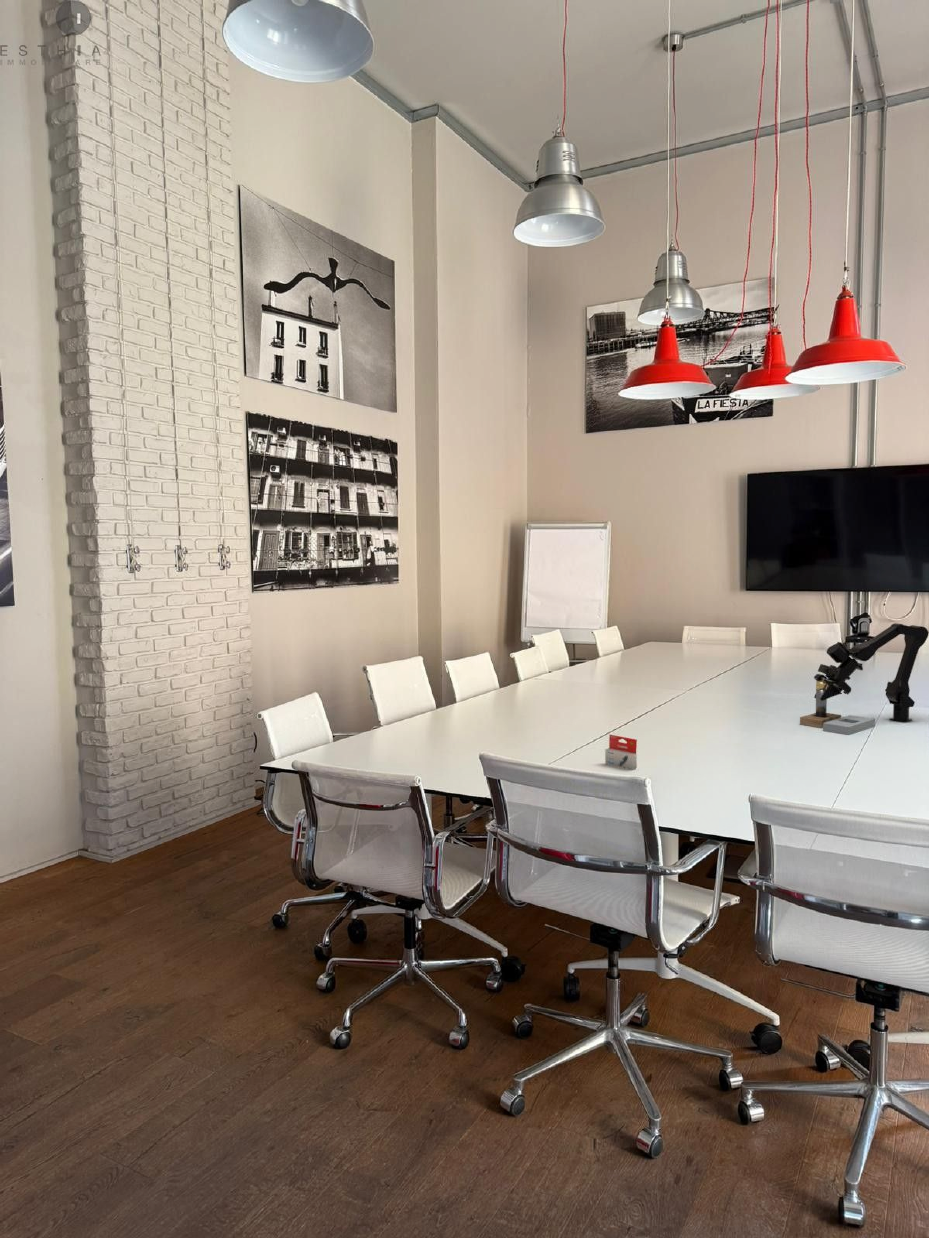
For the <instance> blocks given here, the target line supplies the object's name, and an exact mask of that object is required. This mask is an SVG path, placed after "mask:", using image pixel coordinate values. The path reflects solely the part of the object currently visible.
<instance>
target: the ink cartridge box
mask: <svg viewBox="0 0 929 1238" xmlns="http://www.w3.org/2000/svg"><path fill="white" fill-rule="evenodd" d="M608 737H609V738H608V741H609V742H608V748H605V750H604V752H605V753H604V756H605V758H604V760H605V761H604V762H605V763H606V764H605V765H608V764H609V765H608V766H612V765H614V766H613V767H616V768H617V767H618V768H621V767H625V768H624V769H626V768H628V769H627V770H630V769H631V771H634V770H637V769H636V768H637V767H638V763H637V761H638V760H637V758H638V757H637V755H638V754H637V749H638V748H637V747H638V746H637V744H638V742H637V741H638V739H636V738H629V737H625V736H619V735H615V734H609V735H608ZM620 740H624V741H625V742H621V741H620Z"/></svg>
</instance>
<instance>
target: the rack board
mask: <svg viewBox="0 0 929 1238" xmlns="http://www.w3.org/2000/svg"><path fill="white" fill-rule="evenodd" d="M875 726H876V719H875V718H870V717H865V716H858V715H851V714H850V715H846V716H841V718H839V719H835V720H832V721H828V722H825V723H823V728H822V731H823V732H829V733H835V734H841V735H847V736H850V735H853V734H856V733H858V732H862V731H865V730H868V729H872V728H874V727H875Z"/></svg>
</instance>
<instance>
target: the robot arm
mask: <svg viewBox="0 0 929 1238" xmlns="http://www.w3.org/2000/svg"><path fill="white" fill-rule="evenodd" d="M899 635H902V636H904V638H903V639H904V644H905V645H904V649H903V653H902V656H901V659H900V662H899V665H898V668H897V671H896V675H895V678H894V679H893V680H892V681H887V685H886V688H885V690H884V692H885V696H886V698H887V699H888V703H889V704H890V705H893V707H892V708H893V709H892V713H893V714H892V717H890V718H889V720H890V721H896V722H902V723H907V722H910V721H913V718H910V708H914V705H915V700H913V699H912V697H911V696H910V685H909V681H910V678H911V674H912V672H913V669H914V665H915V662H916V659H917V656H918V653H919V650H920V648H922V646H923V645H925V643H926V641H927V639H928V638H929V630H928V628H927V627H925V626H920V625H914V624H910V625H906V624H902V623H898V622H897V623H895V622H893V623H892V624H890V626H888V627H887V628H886V629H884V630H883V631H881V632H880V633H878V634H877V635H875V636H874V637H872V638H871V639H868V640H867V641H865V642H864V641H863V642H860V643H858V644H856V645H853V646H852V647H851V648H848V649H847V648H846V647H845V645H844V644H843V642H841V641H837V642H836V643H834V644H832V645H831V646H829V647H828V648H827V649H826V654H827V655H828V656H829V657H830V658H831V659H832V660H833V661H834V662H835V663H836V664H839V663H840V664H839V665H838V666H836V665H833V664H830V665H826V664H823V663H820V665H819V667H818V669H817V672H819V673H816V674H815V675H814V676H813V679H814V680H815V682H816V681H825V682H827V690H826V691H825V693H824V694H823V695H822V697H821V698H820V700H821V701H823V700H826V699H830V698H833V697H836V696H838V695H842V694H845V695H849V694H850V693H852V687H851V686H850V685H849V684H848V683H847V682H846V681H849V680H851V675H852V674H853V673H854V672H855V671H856V670H859V671H863V670H864V667H863V663H862V662H868V661H870V659H872V658H873V657H874V655H875V654H876V652H877V651H878V650H879V649H880V648H882V647H883V646H885V645H886V644H887V643H889V642H891V641H892V640H894V639H896V638H897V637H898V636H899ZM859 661H862V662H861V663H860V662H859ZM821 673H822V674H821ZM813 698H815V700H816V693H815V694H814V697H813Z"/></svg>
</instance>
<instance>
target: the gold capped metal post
mask: <svg viewBox="0 0 929 1238" xmlns="http://www.w3.org/2000/svg"><path fill="white" fill-rule="evenodd" d="M815 683H816V684H815V694H816V699H815V713H816V716H817V717H826V713H827V707H828V706H827V705H828V703H827V701H828V700H827V699H826V700H823V701H821V700H820V698H821V697H822V695H823V694H824V693H825V691H826V690H827V682H825V681H816V680H815Z"/></svg>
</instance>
